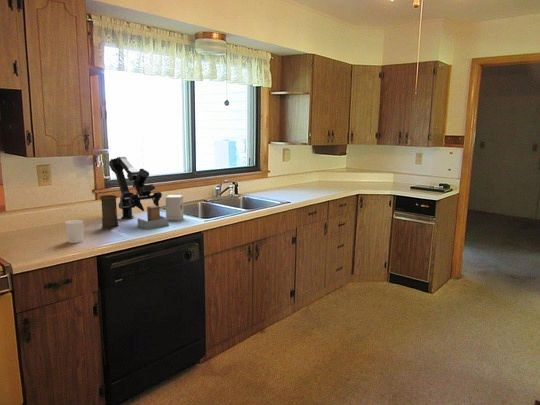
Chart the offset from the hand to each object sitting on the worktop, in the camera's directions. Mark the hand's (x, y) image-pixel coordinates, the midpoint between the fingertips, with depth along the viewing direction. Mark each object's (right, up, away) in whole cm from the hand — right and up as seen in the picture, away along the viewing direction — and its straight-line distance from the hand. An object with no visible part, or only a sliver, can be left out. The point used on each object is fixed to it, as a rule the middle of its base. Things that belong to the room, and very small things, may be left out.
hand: (151, 209), depth 230 cm
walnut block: (+2, -9, 0) cm, 9 cm away
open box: (+2, -10, 0) cm, 10 cm away
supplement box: (+9, -7, +19) cm, 22 cm away
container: (-22, -10, -2) cm, 25 cm away
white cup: (-28, -15, -30) cm, 44 cm away
